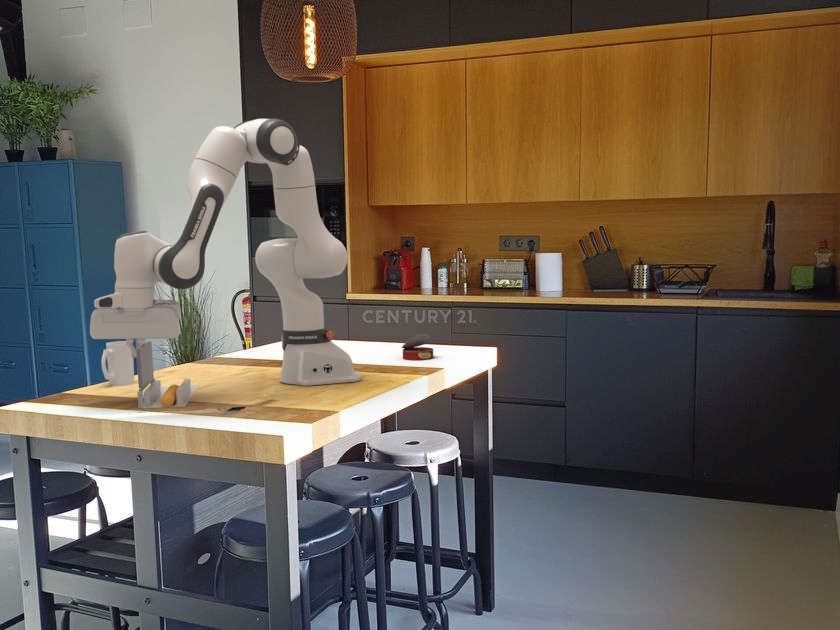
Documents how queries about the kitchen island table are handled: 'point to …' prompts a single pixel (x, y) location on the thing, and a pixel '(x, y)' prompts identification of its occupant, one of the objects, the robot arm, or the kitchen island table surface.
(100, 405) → the kitchen island table surface
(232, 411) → the knife
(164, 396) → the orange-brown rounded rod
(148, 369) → the lid
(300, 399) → the kitchen island table surface
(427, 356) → the canned food
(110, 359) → the mug
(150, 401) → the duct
